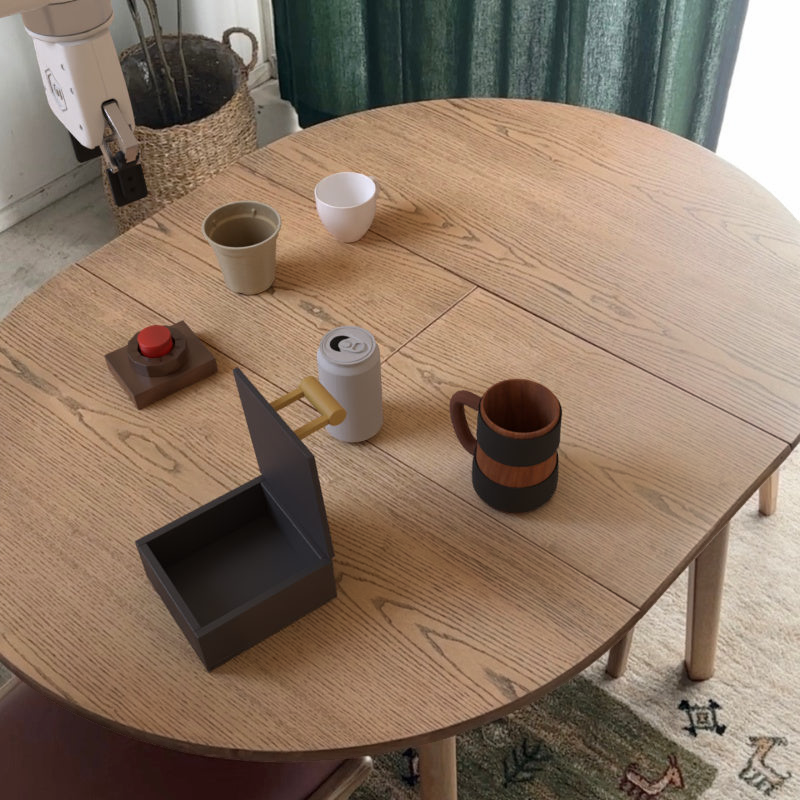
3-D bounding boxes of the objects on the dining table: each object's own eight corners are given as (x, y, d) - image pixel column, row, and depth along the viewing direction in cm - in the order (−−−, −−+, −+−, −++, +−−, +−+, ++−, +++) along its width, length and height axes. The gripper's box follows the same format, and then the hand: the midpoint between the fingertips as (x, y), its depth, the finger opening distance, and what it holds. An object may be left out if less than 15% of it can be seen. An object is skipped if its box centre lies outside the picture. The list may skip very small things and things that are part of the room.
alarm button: (149, 362, 116) (146, 351, 115) (135, 344, 119) (131, 333, 117) (178, 349, 118) (175, 338, 117) (164, 331, 120) (161, 320, 119)
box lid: (308, 459, 84) (369, 424, 86) (231, 369, 91) (290, 339, 93) (329, 560, 95) (384, 526, 97) (260, 472, 102) (311, 443, 104)
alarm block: (138, 410, 117) (130, 384, 114) (108, 369, 121) (100, 343, 118) (218, 372, 120) (212, 346, 118) (186, 333, 125) (180, 308, 122)
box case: (208, 673, 94) (197, 638, 90) (147, 577, 101) (134, 541, 97) (337, 596, 99) (332, 560, 95) (270, 510, 107) (263, 473, 102)
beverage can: (339, 397, 117) (331, 316, 108) (393, 412, 115) (389, 331, 107) (314, 437, 113) (304, 356, 104) (369, 453, 111) (363, 372, 103)
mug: (471, 428, 113) (473, 348, 105) (571, 474, 109) (582, 395, 100) (427, 480, 109) (426, 402, 100) (530, 532, 104) (538, 453, 95)
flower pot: (304, 274, 132) (297, 217, 126) (253, 315, 127) (243, 258, 121) (248, 247, 136) (239, 191, 130) (197, 286, 131) (185, 229, 125)
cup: (306, 236, 137) (301, 193, 132) (356, 199, 143) (353, 156, 138) (351, 259, 134) (348, 215, 129) (401, 220, 139) (400, 177, 134)
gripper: (-13, -19, 93) (41, 151, 106) (63, 59, 83) (113, 237, 96) (67, -43, 96) (110, 126, 108) (151, 31, 86) (188, 207, 98)
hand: (111, 177), depth 102 cm, fingers open, 8 cm apart
